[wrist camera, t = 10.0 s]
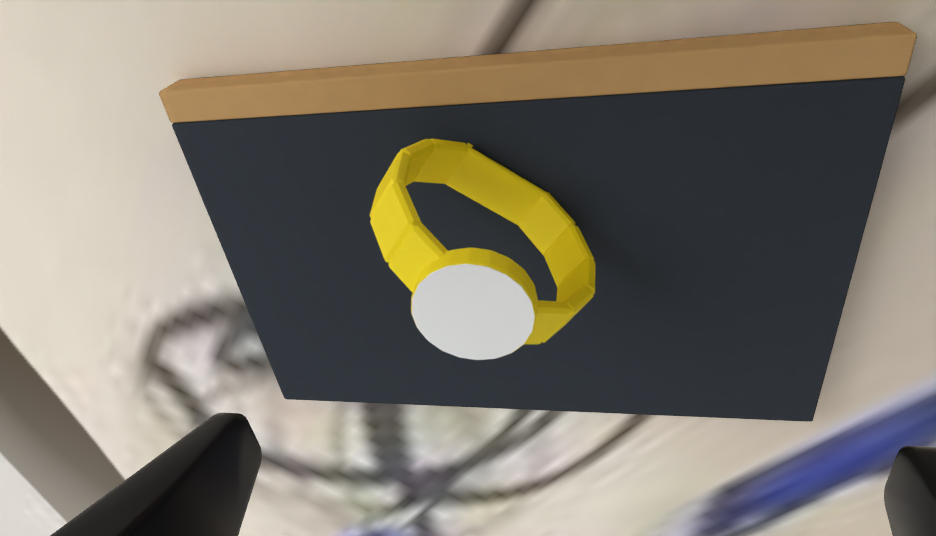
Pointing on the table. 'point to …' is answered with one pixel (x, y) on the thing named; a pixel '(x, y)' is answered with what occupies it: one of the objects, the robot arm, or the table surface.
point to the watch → (479, 255)
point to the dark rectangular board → (583, 198)
